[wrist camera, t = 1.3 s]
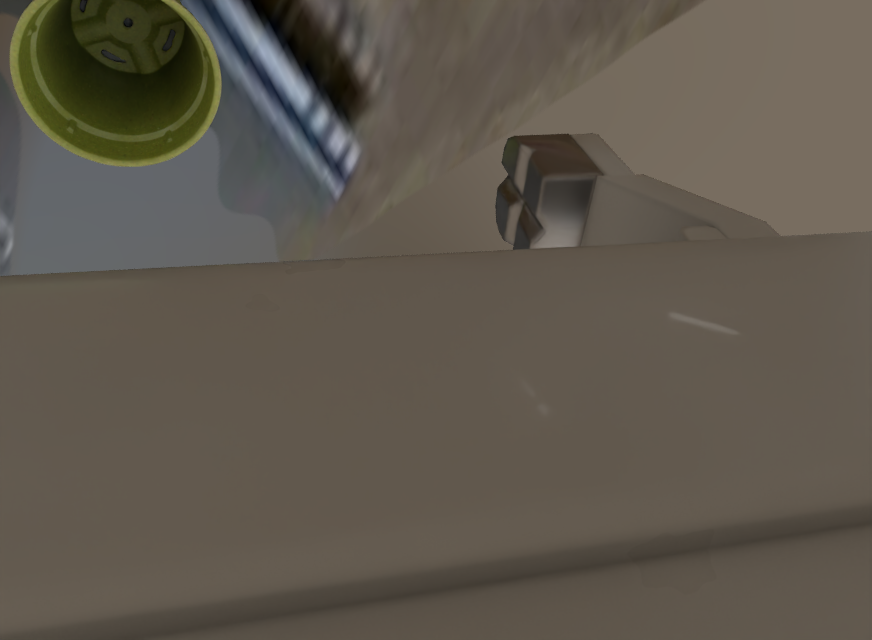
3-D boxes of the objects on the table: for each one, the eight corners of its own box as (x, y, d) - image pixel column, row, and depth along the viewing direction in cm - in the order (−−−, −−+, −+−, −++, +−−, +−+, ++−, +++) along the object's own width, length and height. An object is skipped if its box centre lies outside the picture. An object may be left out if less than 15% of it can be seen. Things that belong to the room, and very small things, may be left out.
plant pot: (66, -109, 41) (43, -64, 34) (243, -19, 45) (251, 36, 39) (15, 54, 45) (-15, 122, 39) (181, 122, 50) (179, 193, 43)
